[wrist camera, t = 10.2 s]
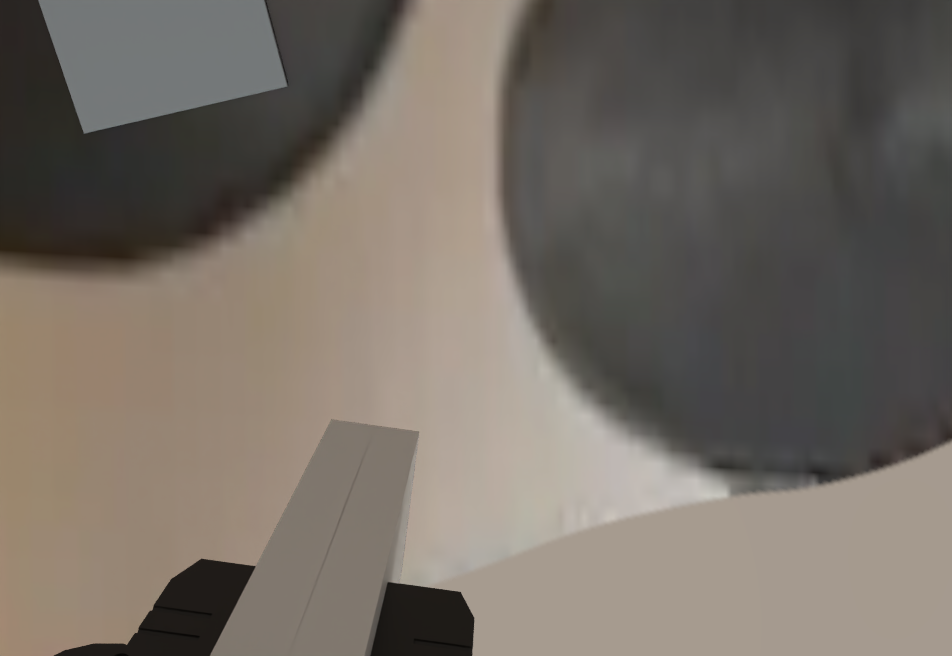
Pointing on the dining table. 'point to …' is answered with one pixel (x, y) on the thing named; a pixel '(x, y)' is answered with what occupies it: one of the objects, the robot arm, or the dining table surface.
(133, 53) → the t mat
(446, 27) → the dining table surface
